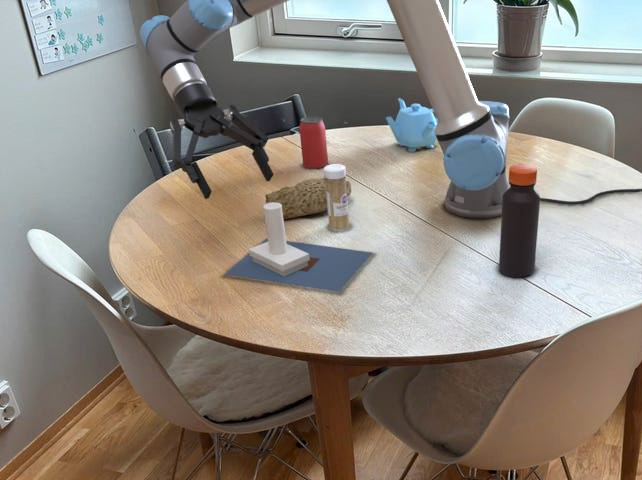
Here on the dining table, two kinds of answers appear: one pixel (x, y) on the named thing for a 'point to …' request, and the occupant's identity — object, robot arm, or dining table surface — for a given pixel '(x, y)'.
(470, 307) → the dining table surface
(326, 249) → the mat
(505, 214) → the vinegar
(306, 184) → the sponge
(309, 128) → the beer can
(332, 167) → the sprinkles bottle
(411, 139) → the teapot
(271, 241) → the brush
